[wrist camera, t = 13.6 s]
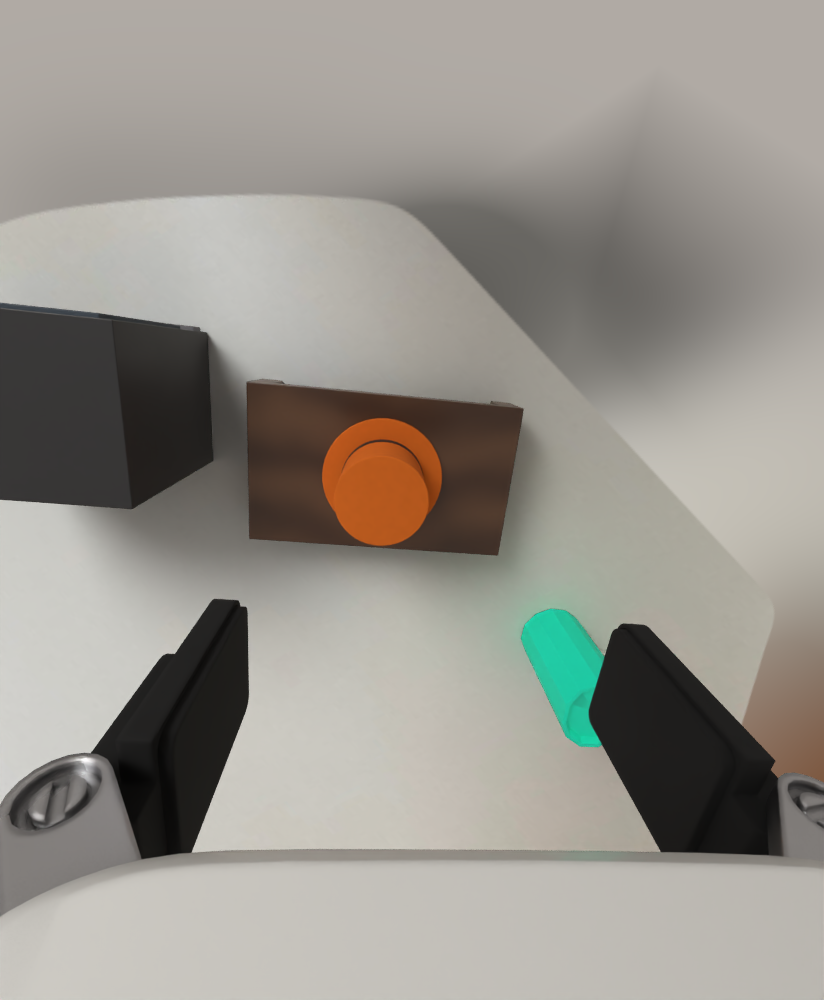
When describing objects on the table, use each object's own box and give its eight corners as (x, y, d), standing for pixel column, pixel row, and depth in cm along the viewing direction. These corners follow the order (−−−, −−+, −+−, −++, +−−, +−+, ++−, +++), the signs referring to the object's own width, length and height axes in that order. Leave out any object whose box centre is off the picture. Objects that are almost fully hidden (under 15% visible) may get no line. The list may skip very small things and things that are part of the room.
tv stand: (262, 378, 34) (246, 381, 30) (509, 403, 36) (524, 408, 32) (263, 520, 38) (249, 539, 34) (487, 536, 39) (498, 555, 36)
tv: (9, 307, 31) (-205, 279, 20) (207, 328, 33) (111, 312, 21) (33, 446, 35) (-140, 489, 23) (213, 461, 36) (132, 509, 24)
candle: (521, 662, 44) (568, 769, 33) (520, 612, 42) (570, 706, 31) (579, 656, 44) (646, 760, 33) (581, 605, 42) (653, 696, 31)
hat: (325, 412, 31) (311, 424, 25) (448, 423, 32) (461, 438, 26) (321, 527, 34) (307, 562, 28) (434, 536, 35) (443, 571, 29)
